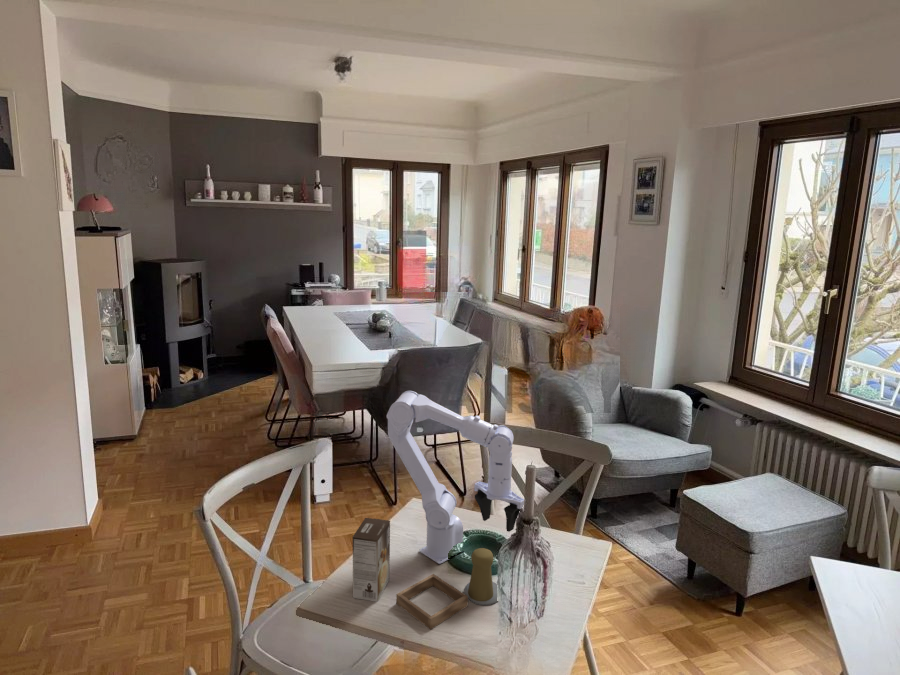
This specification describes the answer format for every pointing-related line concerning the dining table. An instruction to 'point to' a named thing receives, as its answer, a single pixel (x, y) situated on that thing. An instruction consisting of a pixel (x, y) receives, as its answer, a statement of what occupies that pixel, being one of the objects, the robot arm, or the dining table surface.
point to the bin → (441, 615)
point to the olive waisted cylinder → (481, 575)
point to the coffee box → (371, 559)
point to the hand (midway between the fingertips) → (498, 524)
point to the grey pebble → (488, 602)
